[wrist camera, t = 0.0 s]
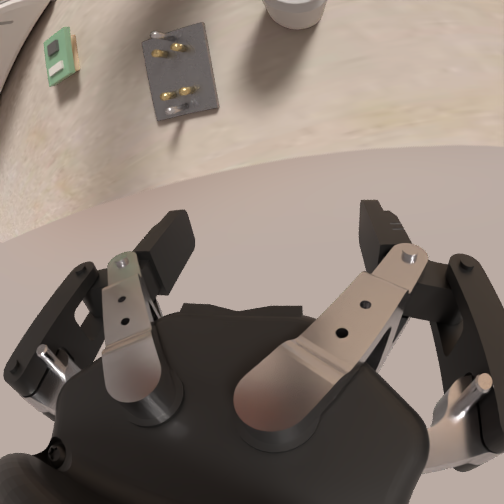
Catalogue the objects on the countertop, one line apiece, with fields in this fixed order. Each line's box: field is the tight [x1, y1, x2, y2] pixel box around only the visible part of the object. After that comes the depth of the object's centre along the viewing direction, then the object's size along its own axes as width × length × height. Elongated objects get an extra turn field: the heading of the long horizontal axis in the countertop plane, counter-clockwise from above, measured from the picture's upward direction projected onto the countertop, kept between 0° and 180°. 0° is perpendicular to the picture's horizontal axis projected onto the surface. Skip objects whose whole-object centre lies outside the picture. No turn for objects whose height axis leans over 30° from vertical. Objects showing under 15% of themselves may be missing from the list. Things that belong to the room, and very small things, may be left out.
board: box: [44, 27, 75, 87], centre depth 28 cm, size 10×6×2 cm, turn 8°
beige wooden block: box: [70, 35, 80, 72], centre depth 30 cm, size 8×3×3 cm, turn 8°
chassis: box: [142, 22, 219, 121], centre depth 30 cm, size 14×10×6 cm
